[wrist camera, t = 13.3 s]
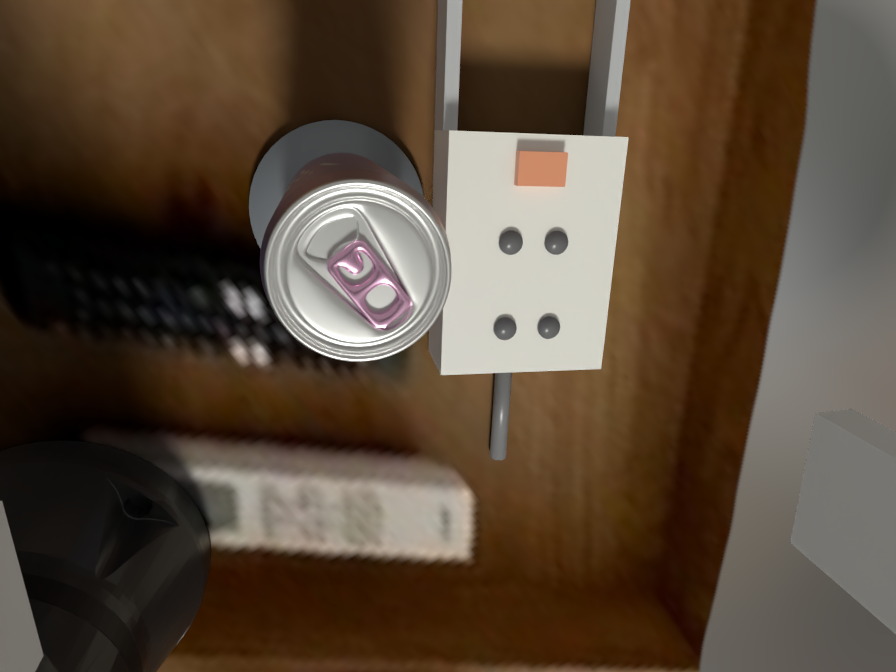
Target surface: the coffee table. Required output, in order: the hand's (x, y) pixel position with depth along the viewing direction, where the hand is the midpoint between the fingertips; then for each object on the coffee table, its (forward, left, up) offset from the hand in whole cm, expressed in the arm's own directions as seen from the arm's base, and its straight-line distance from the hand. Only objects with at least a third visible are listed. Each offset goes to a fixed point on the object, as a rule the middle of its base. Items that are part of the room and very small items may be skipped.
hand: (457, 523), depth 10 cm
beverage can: (-1, +2, -25) cm, 25 cm away
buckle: (+8, +1, -26) cm, 27 cm away
